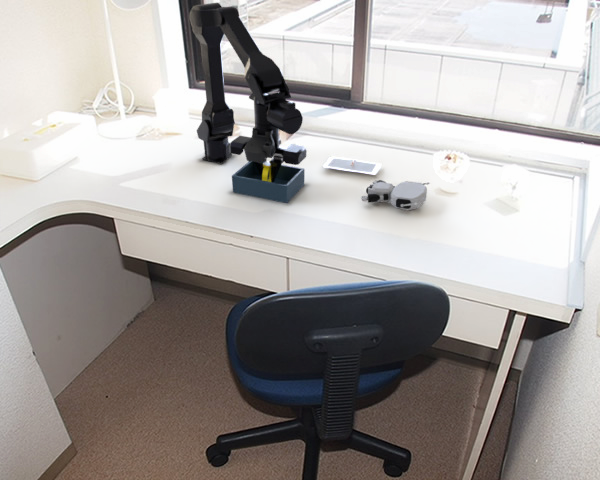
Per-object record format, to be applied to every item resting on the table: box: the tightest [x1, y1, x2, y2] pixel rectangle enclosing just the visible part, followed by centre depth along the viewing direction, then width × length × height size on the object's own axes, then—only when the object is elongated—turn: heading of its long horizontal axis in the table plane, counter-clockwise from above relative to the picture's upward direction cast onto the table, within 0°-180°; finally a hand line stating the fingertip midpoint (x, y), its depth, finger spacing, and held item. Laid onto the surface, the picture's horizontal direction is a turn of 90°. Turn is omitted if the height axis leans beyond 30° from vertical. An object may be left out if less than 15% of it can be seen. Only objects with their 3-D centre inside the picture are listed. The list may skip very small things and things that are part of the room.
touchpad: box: [322, 156, 383, 176], centre depth 153 cm, size 8×15×2 cm, turn 70°
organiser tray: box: [231, 161, 305, 204], centre depth 142 cm, size 15×11×5 cm
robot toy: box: [360, 179, 431, 212], centre depth 136 cm, size 12×4×15 cm
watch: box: [262, 161, 271, 182], centre depth 141 cm, size 6×3×6 cm, turn 164°
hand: (268, 181), depth 142 cm, fingers closed on watch, 2 cm apart
